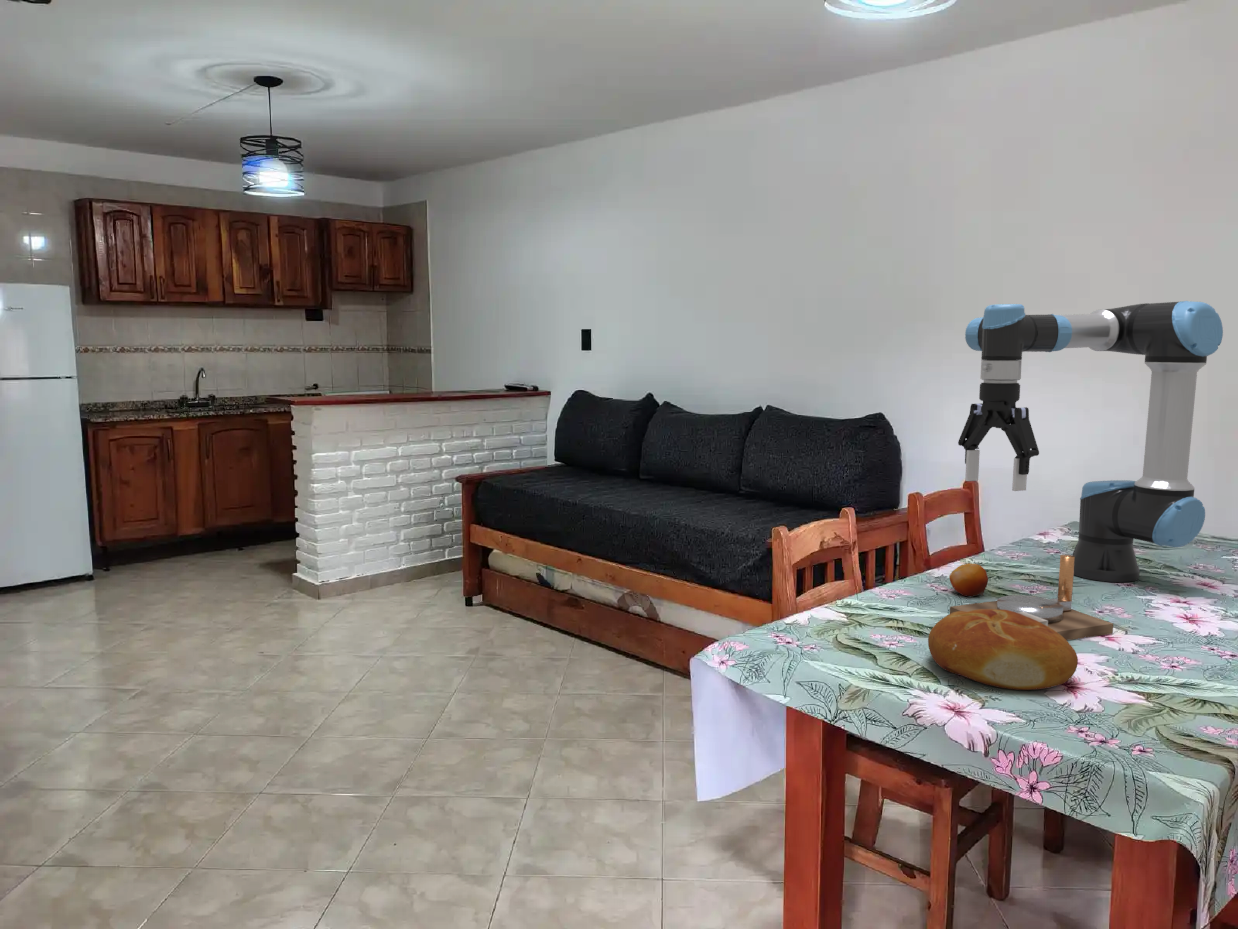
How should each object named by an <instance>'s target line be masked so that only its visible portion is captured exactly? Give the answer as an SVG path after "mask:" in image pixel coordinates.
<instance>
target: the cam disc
mask: <svg viewBox="0 0 1238 929" xmlns="http://www.w3.org/2000/svg"><path fill="white" fill-rule="evenodd" d="M1072 555H1073V554H1060V555H1059V556H1060V558H1059V570H1058V572H1059V573H1058V586H1057V587H1058V589H1057V598H1050V599H1049V598H1045V597H1041V596H1035V595H1034V596H1035V597H1034V596H1033V595H1025V594H1024V595H1022V594H1019V595H1018V594H1017V595H1015V594H1014V595H1013V594H1012V595H1004V596H1001V597H998V598H997V600H996V601H997V610H1009V611H1013V612H1016V613H1018V612H1026V613H1029V614H1031V615H1034V616H1037V617H1039V618H1042V619H1045V620H1047V621H1048V623H1050V622H1057V621H1060V620H1061V619H1062V618H1063V611H1070V610H1071V609H1072V603H1073V591H1074V587H1073V586H1074V576H1075V575H1074V561H1075V556H1072Z"/></svg>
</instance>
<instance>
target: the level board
mask: <svg viewBox="0 0 1238 929" xmlns="http://www.w3.org/2000/svg"><path fill="white" fill-rule="evenodd" d="M1034 597H1036V596H1035V595H1034ZM978 609H997V600H992V601H984V602H977V603H969V604H960V605H952V606H949V614H951V613H953V612H957V611H966V612H968V611H972V610H978ZM1018 613H1019V614H1022V615H1024V616H1026V617H1029V618H1032V619H1034V620H1036V621H1038V622H1040V623H1042V624H1044V625H1046V626H1048V627H1050V628H1051V629H1053V630H1054V631H1056V632H1057V633H1059V634H1060V635H1061V636H1063V637H1064V638H1065V639H1066V640H1067V641H1072V640H1078V638H1079V639H1085V638H1084V637H1086V638H1092V637H1099V636H1105V635H1106V636H1107V635H1111V634H1112V633H1113V632H1114V631H1113V630H1114V623H1112V622H1109V621H1106V620H1104V619H1101V618H1098V617H1095V616H1093V615H1090V614H1086V613H1084V612H1081V611H1077V610H1076V609H1072V608H1071V610H1070V611H1063V618H1062V619H1061V620H1060V621H1057V622H1050V623H1048V621H1047V620H1045V619H1042V618H1039V617H1037V616H1034V615H1031V614H1029V613H1026V612H1018ZM1113 634H1114V633H1113Z"/></svg>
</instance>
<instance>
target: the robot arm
mask: <svg viewBox="0 0 1238 929" xmlns="http://www.w3.org/2000/svg"><path fill="white" fill-rule="evenodd" d="M1223 328H1224V327H1223V323H1222V320H1221V316H1220V314H1219V313H1218V312H1217V311H1216V309H1215V308H1214V307H1213V306H1212V305H1210V304H1209V303H1207V302H1203V301H1192V300H1191V301H1189V300H1183V301H1172V302H1171V301H1170V302H1169V301H1168V302H1167V301H1166V302H1152V303H1148V302H1147V303H1137V304H1132V305H1127V306H1120V307H1114V308H1102V309H1096V310H1093V311H1092V312H1090V313H1086V314H1085V313H1082V314H1081V313H1079V314H1075V313H1074V314H1054V313H1051V314H1026V312H1025V306H1024V305H1023V304H1020V303H1019V304H1018V303H1005V304H1004V303H1002V304H1001V303H998V304H989V305H987V306H986V307H985V308H984V312H983V317H975V318H974V319H972V320H971V321H969V323H968V324H967V326H966V328H965V333H964V335H965V337H964V339H965V342H966V345H967V346H968V347H969V348H970V349H971V350H973V351H975V352H976V351H977V352H981V363H980V380H982V381H983V382H980V384H979V395H978V396H979V397H978V398H979V401H981V402H982V403H971V404H970V407H969V408H970V410H969V415H968V417H967V420H966V422H965V424H964V426H963V430H962V431H961V434H960V437H959V438H958V440H957V444H958V446H961V447H963V450H965V452H964V453H965V454H964V464H965V478H964V481H965V482H974V481H975V482H976V481H979V472H980V469H979V468H980V455H981V454H980V453H981V452H980V451H981V450H980V447H979V445H980V444H981V443H982V441H983V440H984V439H985V437H986V435H988V432H989V431H990V430H991V429H992V428H996V429H1001V431H1002V432H1003V433H1005V435H1006V437H1007V439H1008V441H1009V443H1010V445H1011V446H1012V449H1013V451H1014V453H1015V454H1016V455H1015V457H1014V458H1013V470H1012V487H1011V488H1012V489H1011V490H1012V492H1019V491H1020V492H1021V491H1022V492H1023V491H1027V482H1028V480H1027V479H1028V477H1027V476H1028V475H1029V472H1030V461H1031V458H1032V457H1033V458H1034V457H1035V456H1036V457H1037V456H1039V455H1040V451H1039V450H1040V449H1039V447H1038V444H1037V441H1036V438H1035V434H1034V431H1033V428H1032V424H1031V420H1030V414H1029V413H1030V410H1029V407H1027V406H1026V407H1024V406H1023V407H1022V406H1021V407H1017V406H1016V405H1017V402H1019V401H1020V396H1021V384H1020V383H1019V382H1018V381H1020V380H1021V379H1022V360H1023V353H1025V352H1027V353H1029V352H1031V353H1035V352H1036V353H1037V352H1041V353H1043V352H1045V353H1053V352H1058V351H1062V350H1064V349H1079V348H1089V349H1090V350H1093V351H1095V352H1113V353H1114V352H1115V353H1122V354H1130V355H1142V356H1144V364H1145V365H1146V367H1147V368H1148V369H1150V371H1151V374H1150V386H1149V387H1150V389H1149V399H1148V411H1147V419H1146V420H1147V421H1146V422H1147V423H1146V430H1145V431H1146V433H1145V445H1144V455H1143V456H1144V458H1143V466H1142V476H1141V477H1140V478H1139V479H1137V480H1136V481H1135V480H1125V479H1124V480H1122V479H1121V480H1118V479H1117V480H1113V479H1111V480H1097V481H1096V480H1095V481H1089V482H1088V481H1087V482H1085V483H1084V484H1083V486H1082V489H1081V496H1080V498H1079V500H1080V502H1079V503H1080V505H1079V522H1078V523H1079V524H1078V538H1077V543H1076V545H1075V548H1074V550H1073V553H1072V554H1071V555H1072V556H1075V561H1074V576H1077V577H1080V578H1083V579H1087V580H1092V581H1101V582H1108V583H1110V582H1111V583H1129V582H1135V581H1138V580H1139V579H1140V570H1141V569H1140V566H1139V565H1138V561H1137V556H1136V552H1135V548H1134V540H1138V541H1143V542H1146V543H1150V544H1151V543H1152V544H1155V545H1158V546H1159V547H1171V548H1181V547H1183V546H1187V545H1188V544H1190V543H1192V541H1193V540H1194V539H1195V538H1196V537H1197V536H1198V535H1199V534H1200V532H1201V530H1202V528H1203V526H1204V523H1205V520H1206V519H1205V518H1206V509H1205V506H1204V504H1203V502H1202V501H1201V500H1200V499H1198V498H1197V497H1195V486H1194V485H1193V484H1192V483H1191V482H1190V481H1189V480H1188V475H1189V464H1190V453H1191V442H1192V431H1193V430H1192V429H1193V424H1194V423H1193V419H1194V418H1193V417H1194V411H1195V398H1196V389H1197V388H1196V387H1197V378H1198V372H1199V371H1200V370H1201V369H1202V368H1203V367H1205V366H1206V365H1207V361H1208V357H1209V356H1210V355H1213V354H1214V353H1216V351H1218V349H1219V346H1221V343H1222V341H1223V336H1224V330H1223Z"/></svg>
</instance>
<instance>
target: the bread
mask: <svg viewBox="0 0 1238 929" xmlns="http://www.w3.org/2000/svg"><path fill="white" fill-rule="evenodd" d="M927 642H928V643H927V645H928V649H929V653H930V656H931V657H932V659H933V660H934V662H935V664H937V665H938V666H939V667H940V668H942V669H943V670H945V671H947V672H949V673H952V674H956V675H959V676H963V677H964V678H966V679H970V680H972V681H974V682H977V683H981V684H984V685H987V686H992V687H996V688H1002V689H1008V690H1015V691H1030V690H1031V691H1032V690H1033V691H1034V690H1035V691H1036V690H1043V689H1049V688H1053V687H1057V686H1060V685H1063V684H1065V683H1066V682H1068V681H1069V680H1070V679H1071V678H1072V677H1073V675H1074V674H1075V673H1076V671H1077V669H1078V668H1077V667H1078V664H1079V660H1078V654H1077V653H1076V650H1075V649H1074V647H1073V646H1072V645H1071V643H1069V640H1066V639H1065V638H1064V637H1063V636H1061V635H1060V634H1059V633H1057V632H1056V631H1054V630H1053V629H1051V628H1050V627H1048V626H1046V625H1044V624H1042V623H1040V622H1038V621H1036V620H1034V619H1032V618H1029V617H1026V616H1024V615H1022V614H1019V613H1016V612H1013V611H1009V610H997V609H978V610H972V611H968V612H966V611H957V612H953V613H951V614H950V613H949V614H948V615H945V616H944V617H943V618H941V619H940V620H939V621H937V622H936V624H935V625H933V627H932V628H931V629H930V631H929V634H928V638H927Z"/></svg>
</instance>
